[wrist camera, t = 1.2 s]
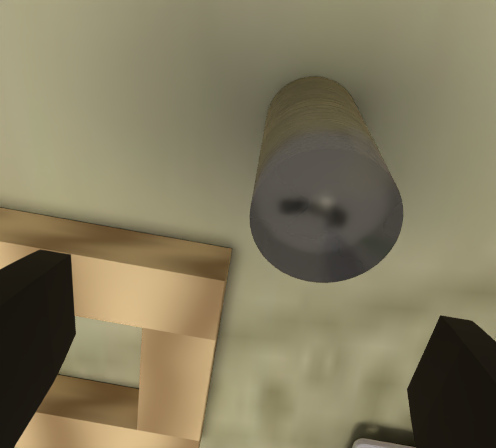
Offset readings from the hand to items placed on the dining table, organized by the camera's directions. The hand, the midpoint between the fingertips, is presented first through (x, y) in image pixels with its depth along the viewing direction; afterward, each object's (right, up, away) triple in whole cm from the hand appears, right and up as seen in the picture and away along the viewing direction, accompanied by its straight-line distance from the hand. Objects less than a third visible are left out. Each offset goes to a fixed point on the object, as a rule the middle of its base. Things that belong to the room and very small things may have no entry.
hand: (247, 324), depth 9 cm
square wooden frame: (-8, -4, +15) cm, 17 cm away
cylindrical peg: (+2, +6, +9) cm, 11 cm away
